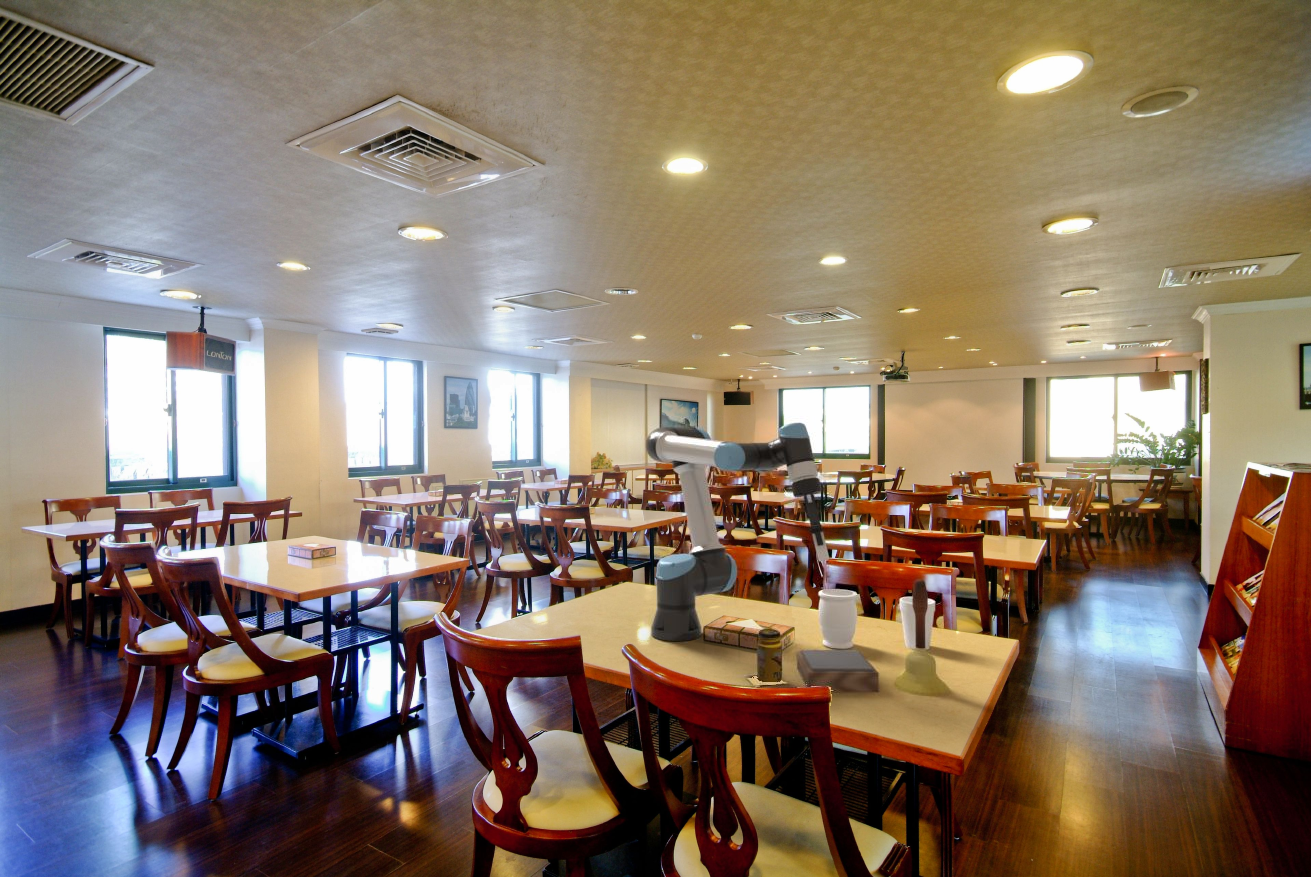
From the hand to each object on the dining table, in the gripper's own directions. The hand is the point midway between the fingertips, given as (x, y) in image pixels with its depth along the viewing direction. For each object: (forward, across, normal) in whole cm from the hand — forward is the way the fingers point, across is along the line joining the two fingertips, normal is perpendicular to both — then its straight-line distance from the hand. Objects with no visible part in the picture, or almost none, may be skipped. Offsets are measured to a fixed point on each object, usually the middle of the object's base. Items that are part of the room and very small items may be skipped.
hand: (823, 559), depth 174 cm
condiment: (+26, -8, +20) cm, 34 cm away
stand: (+28, -4, +4) cm, 29 cm away
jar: (+23, +25, +2) cm, 34 cm away
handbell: (+33, -4, -15) cm, 36 cm away
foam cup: (+28, +28, -20) cm, 44 cm away
